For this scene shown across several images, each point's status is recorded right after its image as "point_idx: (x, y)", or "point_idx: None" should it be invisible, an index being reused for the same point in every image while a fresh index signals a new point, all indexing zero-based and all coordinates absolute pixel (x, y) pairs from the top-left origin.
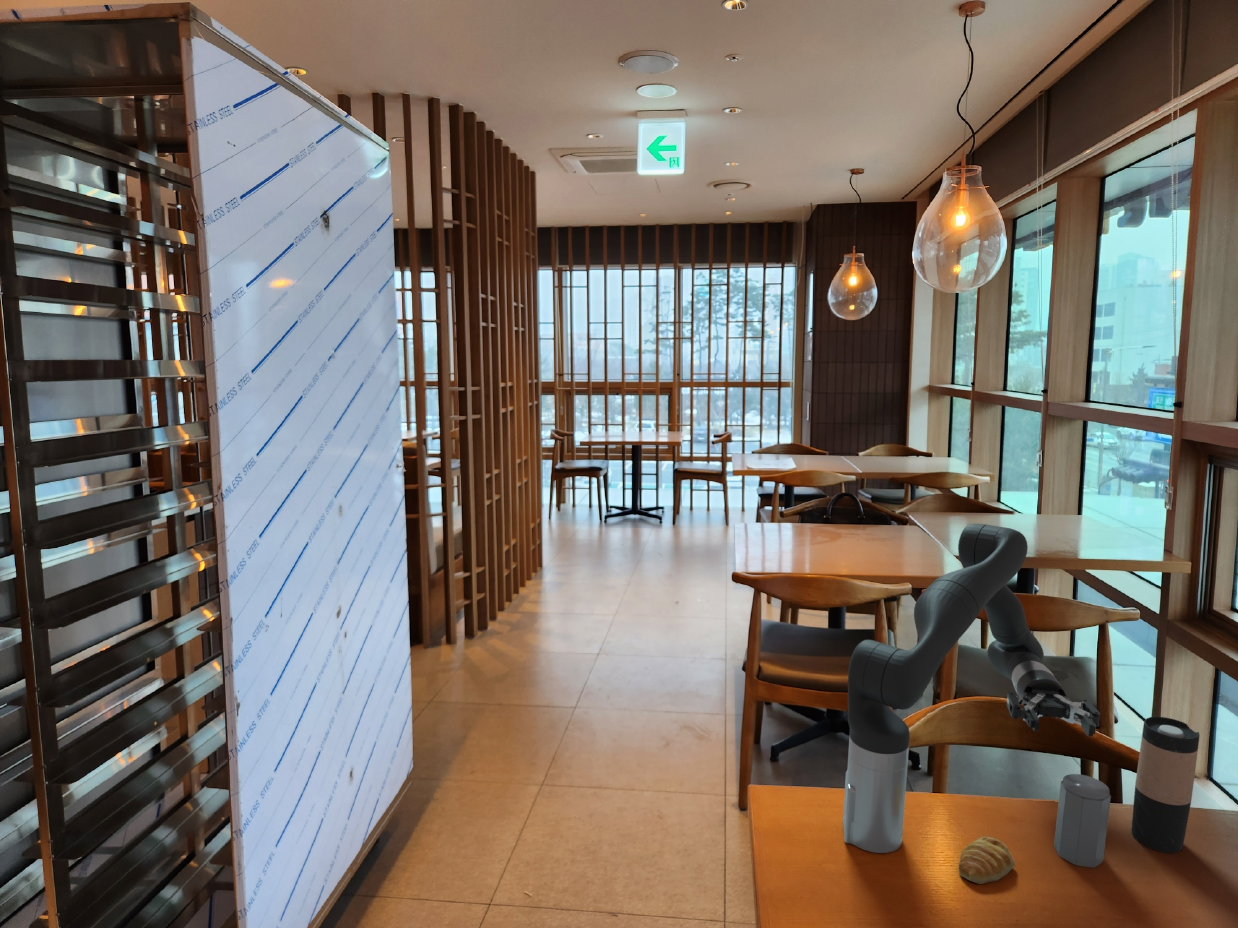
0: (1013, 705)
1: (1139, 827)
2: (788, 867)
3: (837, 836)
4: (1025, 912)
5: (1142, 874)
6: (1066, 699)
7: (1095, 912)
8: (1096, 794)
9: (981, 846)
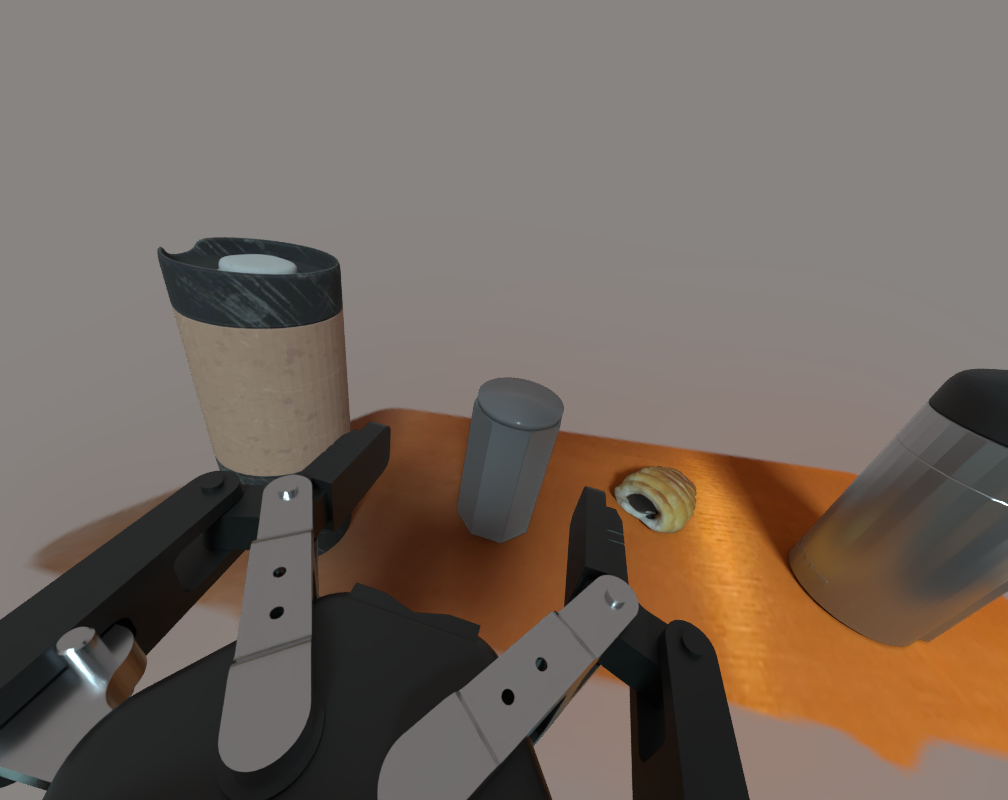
0: (708, 641)
1: None
2: None
3: None
4: (615, 443)
5: (425, 463)
6: (143, 744)
7: None
8: (517, 382)
9: (674, 484)
